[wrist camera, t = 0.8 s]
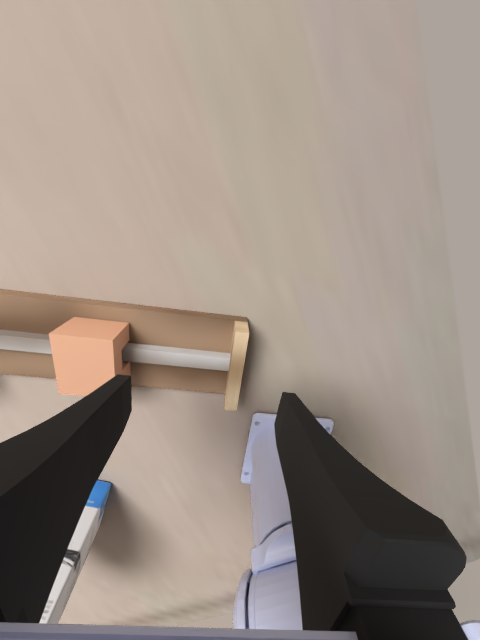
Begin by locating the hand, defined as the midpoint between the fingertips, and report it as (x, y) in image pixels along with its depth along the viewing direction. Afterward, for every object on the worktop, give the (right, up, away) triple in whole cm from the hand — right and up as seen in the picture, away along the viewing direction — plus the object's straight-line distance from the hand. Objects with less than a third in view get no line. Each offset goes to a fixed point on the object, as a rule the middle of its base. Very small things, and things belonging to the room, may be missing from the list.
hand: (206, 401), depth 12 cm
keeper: (-9, +2, +8) cm, 12 cm away
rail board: (-10, +2, +9) cm, 14 cm away
